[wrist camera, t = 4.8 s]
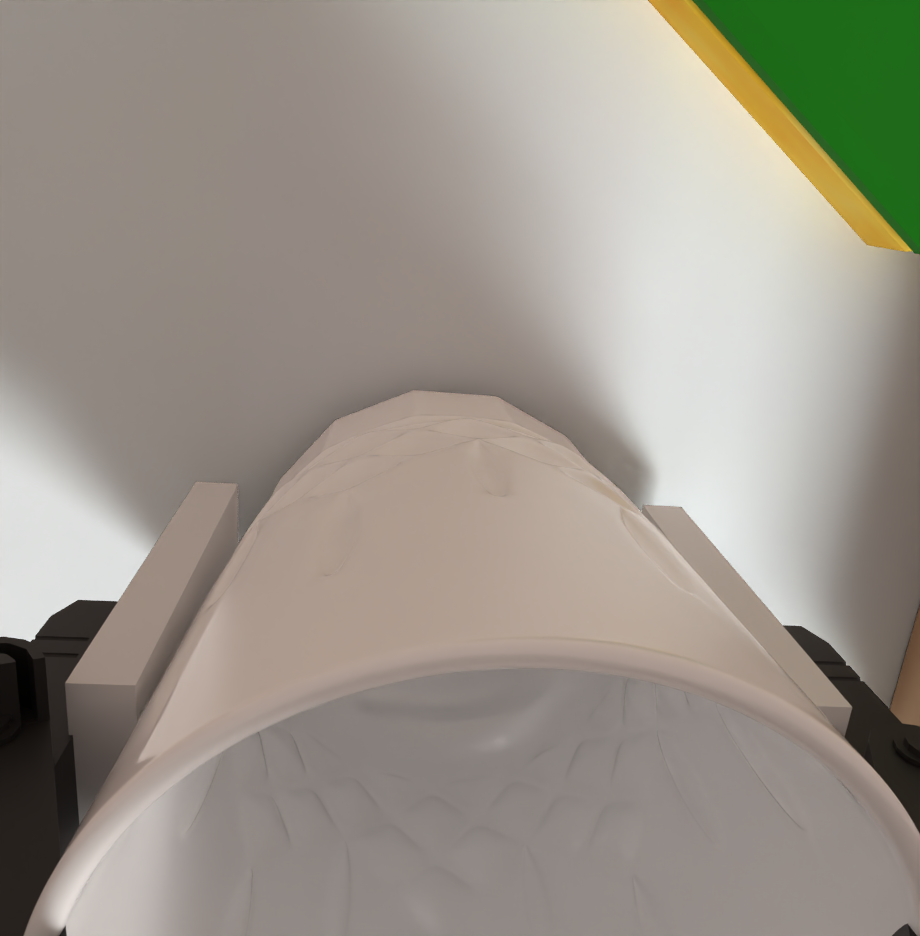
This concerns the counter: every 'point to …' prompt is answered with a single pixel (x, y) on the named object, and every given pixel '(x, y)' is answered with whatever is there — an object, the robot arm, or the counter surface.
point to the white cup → (476, 723)
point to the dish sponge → (826, 95)
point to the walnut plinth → (909, 682)
